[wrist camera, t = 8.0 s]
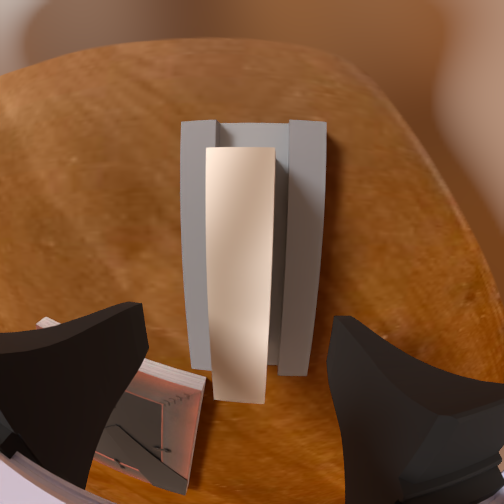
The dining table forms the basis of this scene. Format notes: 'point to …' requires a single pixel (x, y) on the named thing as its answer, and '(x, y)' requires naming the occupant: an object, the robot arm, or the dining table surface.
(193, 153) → the grooved channel
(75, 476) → the robot arm
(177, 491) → the picture frame
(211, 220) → the frame
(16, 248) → the dining table surface
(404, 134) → the dining table surface
